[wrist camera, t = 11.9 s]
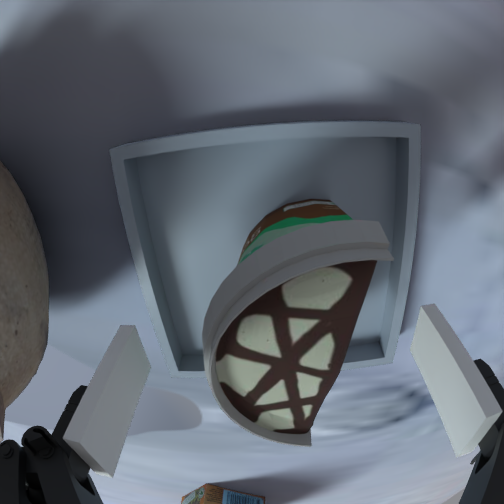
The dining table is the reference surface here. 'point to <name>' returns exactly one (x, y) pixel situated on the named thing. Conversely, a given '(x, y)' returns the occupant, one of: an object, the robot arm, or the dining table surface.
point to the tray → (254, 210)
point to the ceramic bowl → (20, 294)
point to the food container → (289, 316)
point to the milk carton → (220, 496)
